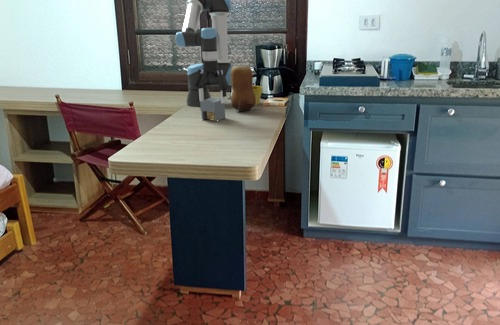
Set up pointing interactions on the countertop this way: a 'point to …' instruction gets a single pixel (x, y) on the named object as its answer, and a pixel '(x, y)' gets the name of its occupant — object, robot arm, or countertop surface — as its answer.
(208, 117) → the ochre block
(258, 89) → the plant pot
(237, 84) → the butternut squash
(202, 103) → the grey mini stool
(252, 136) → the countertop surface
